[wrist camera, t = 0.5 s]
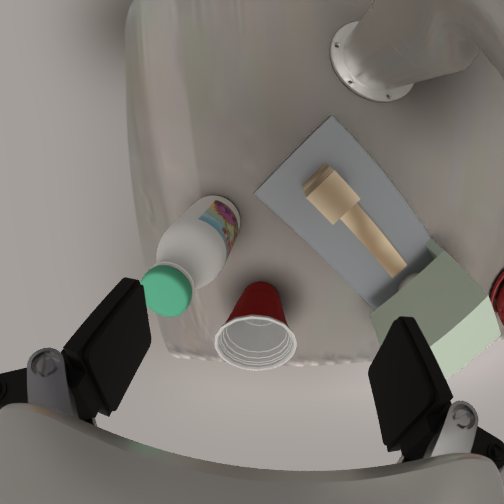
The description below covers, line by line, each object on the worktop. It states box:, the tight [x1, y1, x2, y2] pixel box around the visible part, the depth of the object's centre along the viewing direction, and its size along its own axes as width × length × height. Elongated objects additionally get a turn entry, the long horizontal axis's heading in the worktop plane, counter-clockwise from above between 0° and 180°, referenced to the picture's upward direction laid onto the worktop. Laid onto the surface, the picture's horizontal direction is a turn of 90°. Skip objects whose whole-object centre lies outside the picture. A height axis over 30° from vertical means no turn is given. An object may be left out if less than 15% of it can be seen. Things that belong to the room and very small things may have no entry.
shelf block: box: [369, 238, 501, 380], centre depth 33 cm, size 15×10×18 cm, turn 138°
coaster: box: [398, 273, 419, 291], centre depth 39 cm, size 6×6×2 cm
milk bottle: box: [140, 195, 240, 317], centre depth 31 cm, size 8×8×20 cm
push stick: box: [302, 163, 407, 278], centre depth 33 cm, size 4×20×7 cm, turn 48°
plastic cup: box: [215, 282, 297, 371], centre depth 39 cm, size 11×11×12 cm
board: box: [254, 115, 434, 310], centre depth 38 cm, size 15×36×1 cm, turn 48°
